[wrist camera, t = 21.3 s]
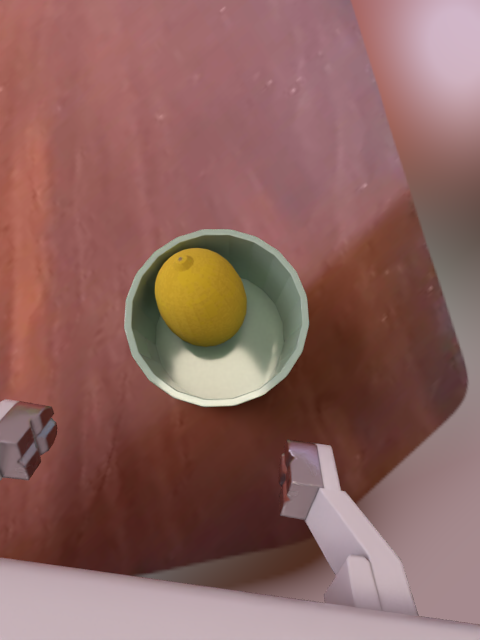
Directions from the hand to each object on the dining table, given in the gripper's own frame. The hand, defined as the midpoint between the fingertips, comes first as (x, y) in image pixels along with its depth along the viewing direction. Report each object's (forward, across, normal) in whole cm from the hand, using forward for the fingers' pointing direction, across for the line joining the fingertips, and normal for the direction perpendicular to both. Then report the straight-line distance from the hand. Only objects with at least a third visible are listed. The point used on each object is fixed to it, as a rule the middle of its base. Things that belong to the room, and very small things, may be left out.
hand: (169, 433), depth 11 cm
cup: (+13, -1, +5) cm, 14 cm away
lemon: (+13, -1, +4) cm, 13 cm away
